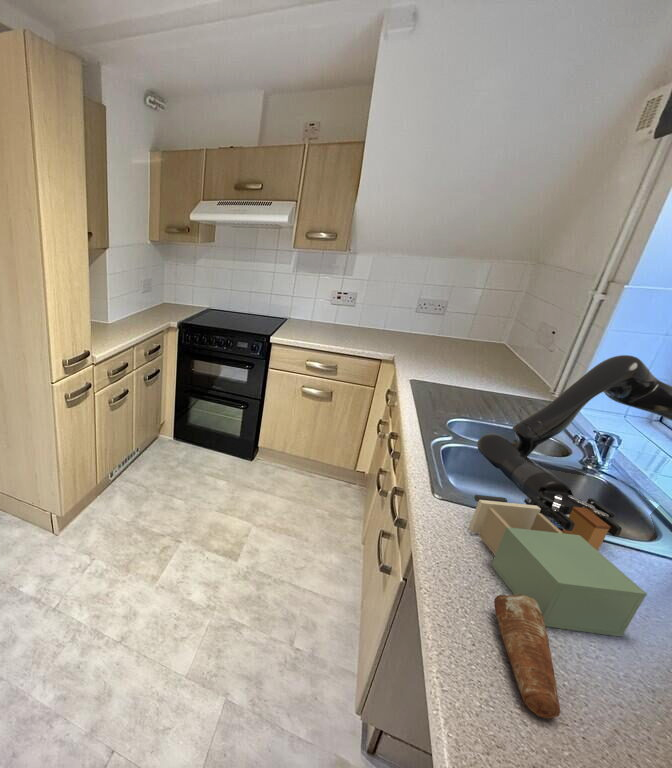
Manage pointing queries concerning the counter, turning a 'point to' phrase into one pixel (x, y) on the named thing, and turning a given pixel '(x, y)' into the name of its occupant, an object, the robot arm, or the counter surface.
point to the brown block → (588, 526)
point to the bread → (528, 652)
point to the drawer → (505, 519)
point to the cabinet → (568, 581)
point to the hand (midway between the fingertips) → (594, 530)
